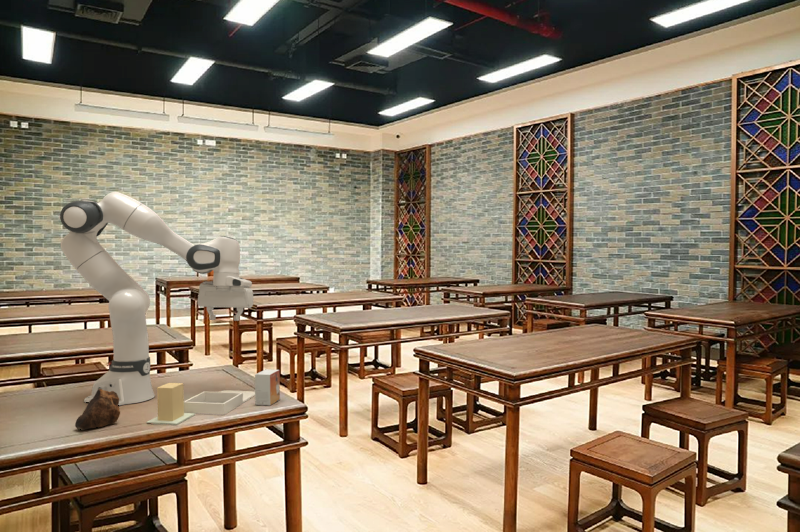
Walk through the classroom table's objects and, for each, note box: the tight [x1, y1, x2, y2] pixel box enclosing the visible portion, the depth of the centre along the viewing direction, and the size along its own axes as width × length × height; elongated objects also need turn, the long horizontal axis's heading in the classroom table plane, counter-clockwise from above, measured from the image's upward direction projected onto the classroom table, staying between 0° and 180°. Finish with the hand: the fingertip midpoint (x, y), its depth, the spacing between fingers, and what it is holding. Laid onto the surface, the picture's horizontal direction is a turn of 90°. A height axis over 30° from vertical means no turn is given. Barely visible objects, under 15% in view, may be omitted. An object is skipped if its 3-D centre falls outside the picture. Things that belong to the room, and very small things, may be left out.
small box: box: [254, 368, 281, 406], centre depth 185 cm, size 8×6×10 cm
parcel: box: [156, 382, 185, 421], centre depth 167 cm, size 5×6×10 cm
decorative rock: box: [74, 389, 121, 431], centre depth 161 cm, size 12×6×11 cm, turn 139°
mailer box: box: [184, 389, 255, 416], centre depth 185 cm, size 14×26×4 cm, turn 170°
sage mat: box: [146, 413, 196, 426], centre depth 167 cm, size 10×10×1 cm
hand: (224, 320), depth 194 cm, fingers open, 8 cm apart
